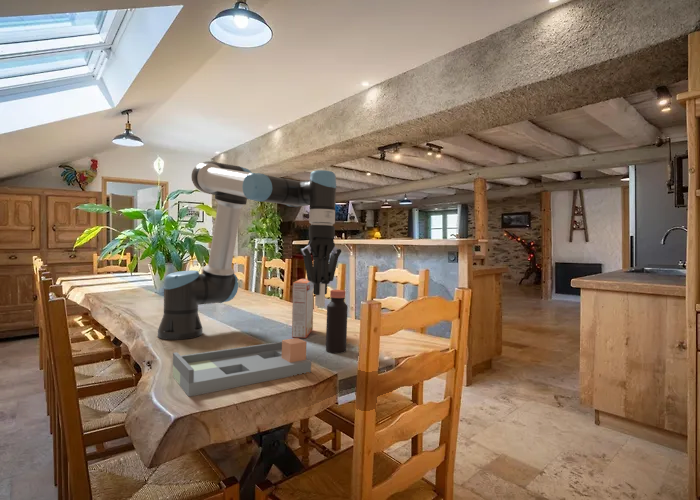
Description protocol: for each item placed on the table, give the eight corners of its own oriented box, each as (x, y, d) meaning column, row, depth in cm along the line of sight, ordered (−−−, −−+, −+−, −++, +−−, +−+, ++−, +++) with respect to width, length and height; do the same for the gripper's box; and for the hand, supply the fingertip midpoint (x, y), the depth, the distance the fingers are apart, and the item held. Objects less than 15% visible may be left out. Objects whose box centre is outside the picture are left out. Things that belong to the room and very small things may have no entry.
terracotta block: (281, 357, 108) (282, 340, 108) (297, 355, 111) (297, 337, 111) (289, 362, 104) (290, 344, 104) (306, 359, 107) (306, 341, 107)
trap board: (172, 375, 100) (173, 352, 100) (284, 357, 119) (284, 337, 119) (188, 396, 87) (189, 370, 87) (310, 372, 106) (311, 350, 106)
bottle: (338, 354, 123) (340, 292, 123) (321, 351, 127) (323, 290, 127) (350, 350, 129) (352, 290, 129) (333, 346, 133) (335, 288, 132)
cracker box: (298, 329, 157) (300, 278, 157) (313, 330, 157) (314, 278, 157) (290, 337, 143) (292, 281, 143) (306, 338, 143) (308, 282, 143)
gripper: (309, 223, 105) (307, 309, 105) (347, 225, 113) (345, 306, 113) (295, 224, 111) (293, 305, 111) (333, 226, 119) (331, 302, 119)
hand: (319, 305), depth 112 cm, fingers closed
